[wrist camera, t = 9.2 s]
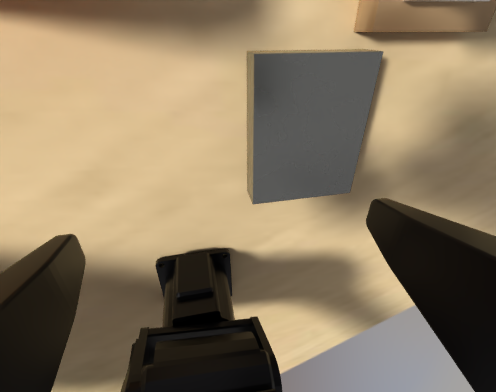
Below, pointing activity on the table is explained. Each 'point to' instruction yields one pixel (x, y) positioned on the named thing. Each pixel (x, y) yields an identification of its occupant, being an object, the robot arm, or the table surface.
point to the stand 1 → (306, 120)
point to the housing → (447, 0)
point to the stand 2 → (423, 16)
